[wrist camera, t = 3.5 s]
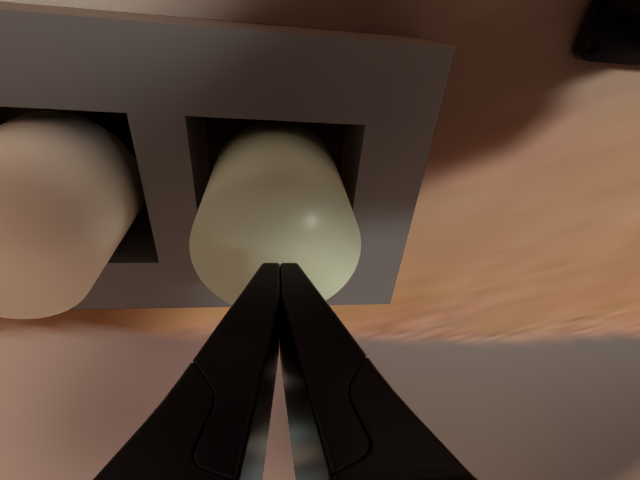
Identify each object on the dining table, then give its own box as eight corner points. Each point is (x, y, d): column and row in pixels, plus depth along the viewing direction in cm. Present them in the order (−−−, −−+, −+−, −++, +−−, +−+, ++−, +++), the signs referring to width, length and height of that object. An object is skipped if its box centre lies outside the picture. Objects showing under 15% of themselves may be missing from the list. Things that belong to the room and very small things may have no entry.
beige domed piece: (129, 114, 11) (62, 168, 8) (155, 234, 14) (113, 317, 10) (-32, 106, 11) (-187, 160, 7) (26, 233, 13) (-67, 320, 10)
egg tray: (420, 37, 13) (456, 47, 10) (374, 262, 18) (389, 304, 16) (-445, -37, 9) (-703, -50, 7) (-181, 263, 15) (-270, 315, 12)
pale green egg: (344, 125, 12) (373, 177, 9) (331, 235, 15) (350, 312, 11) (207, 118, 12) (177, 171, 8) (218, 235, 14) (199, 315, 11)
